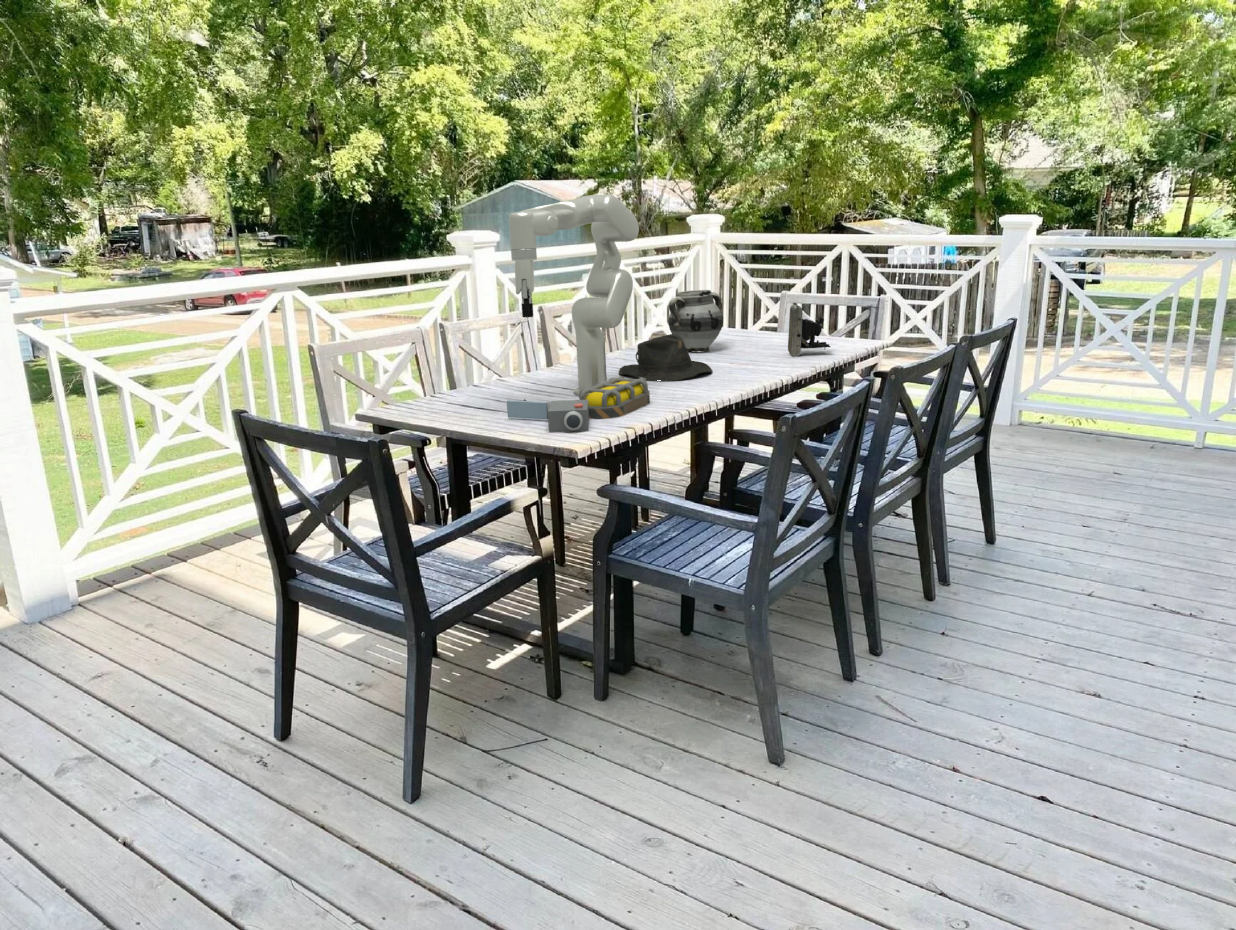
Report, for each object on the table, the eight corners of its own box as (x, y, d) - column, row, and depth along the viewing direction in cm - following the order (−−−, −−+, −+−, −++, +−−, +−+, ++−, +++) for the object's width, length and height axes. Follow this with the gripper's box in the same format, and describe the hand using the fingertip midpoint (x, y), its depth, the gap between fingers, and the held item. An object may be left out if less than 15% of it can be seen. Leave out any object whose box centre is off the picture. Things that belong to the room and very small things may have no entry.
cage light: (568, 391, 276) (617, 373, 301) (569, 417, 279) (618, 397, 304) (610, 394, 269) (657, 376, 294) (612, 421, 272) (658, 400, 297)
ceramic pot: (689, 358, 370) (688, 295, 363) (652, 352, 388) (650, 292, 381) (740, 349, 387) (739, 288, 381) (702, 344, 405) (701, 286, 398)
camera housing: (552, 420, 274) (550, 398, 272) (589, 419, 274) (588, 396, 272) (548, 433, 259) (547, 409, 257) (588, 432, 259) (587, 408, 257)
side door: (551, 419, 274) (550, 401, 273) (550, 420, 273) (548, 402, 272) (509, 417, 280) (508, 399, 278) (507, 418, 279) (506, 400, 277)
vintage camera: (830, 357, 363) (833, 305, 358) (791, 357, 364) (793, 305, 358) (825, 353, 373) (828, 303, 368) (787, 353, 373) (789, 303, 368)
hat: (668, 386, 319) (667, 345, 316) (602, 374, 345) (600, 336, 341) (730, 372, 339) (730, 333, 335) (664, 362, 365) (663, 326, 361)
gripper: (513, 254, 283) (517, 314, 288) (508, 257, 268) (513, 320, 273) (538, 253, 283) (542, 313, 288) (534, 256, 268) (538, 319, 273)
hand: (528, 316), depth 281 cm, fingers closed
